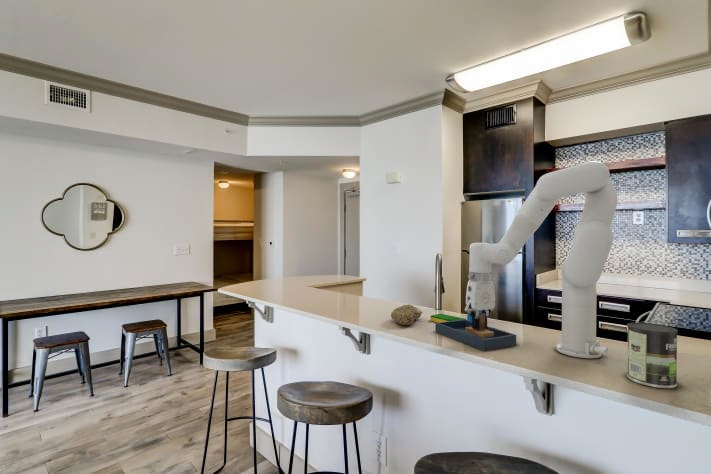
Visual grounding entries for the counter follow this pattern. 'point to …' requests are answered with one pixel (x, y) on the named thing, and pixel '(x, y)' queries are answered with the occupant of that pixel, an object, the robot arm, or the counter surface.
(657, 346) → the coffee can
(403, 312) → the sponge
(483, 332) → the two-tone wood block
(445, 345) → the counter surface
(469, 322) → the baking dish
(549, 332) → the counter surface
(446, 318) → the dish sponge
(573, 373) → the counter surface
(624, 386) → the counter surface
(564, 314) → the robot arm
